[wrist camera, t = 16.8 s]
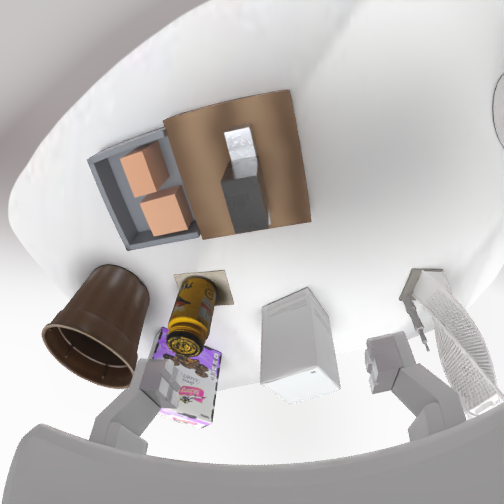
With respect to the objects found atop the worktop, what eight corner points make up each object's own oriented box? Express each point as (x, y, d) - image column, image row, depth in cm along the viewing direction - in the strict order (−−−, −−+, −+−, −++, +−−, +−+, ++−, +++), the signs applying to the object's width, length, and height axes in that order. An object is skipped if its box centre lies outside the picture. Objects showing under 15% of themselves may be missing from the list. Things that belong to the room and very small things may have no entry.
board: (287, 89, 28) (289, 90, 25) (308, 210, 37) (311, 221, 34) (171, 116, 30) (162, 120, 28) (206, 228, 39) (202, 239, 36)
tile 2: (142, 151, 27) (119, 158, 28) (156, 191, 30) (134, 197, 30) (157, 140, 31) (137, 147, 32) (169, 176, 34) (149, 181, 34)
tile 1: (181, 184, 35) (174, 194, 32) (193, 218, 37) (187, 229, 35) (147, 193, 35) (139, 203, 33) (160, 225, 38) (153, 236, 36)
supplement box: (260, 306, 47) (257, 384, 35) (307, 285, 44) (318, 365, 32) (285, 334, 52) (288, 405, 39) (329, 317, 48) (342, 390, 36)
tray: (173, 124, 31) (162, 130, 27) (204, 221, 38) (198, 237, 35) (102, 150, 32) (87, 159, 29) (137, 235, 40) (127, 250, 37)
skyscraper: (415, 261, 41) (486, 415, 18) (449, 262, 40) (522, 397, 18) (398, 298, 45) (447, 442, 23) (432, 298, 45) (485, 426, 22)
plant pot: (160, 264, 43) (125, 345, 30) (163, 327, 52) (142, 398, 39) (76, 246, 42) (27, 312, 29) (92, 309, 51) (61, 371, 38)
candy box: (223, 352, 56) (214, 424, 42) (210, 363, 59) (200, 430, 45) (162, 325, 52) (139, 398, 38) (153, 338, 55) (132, 406, 41)
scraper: (253, 122, 28) (248, 139, 20) (272, 211, 34) (274, 255, 26) (225, 128, 28) (210, 148, 21) (248, 215, 34) (243, 260, 27)
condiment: (173, 274, 44) (152, 332, 34) (224, 269, 43) (213, 331, 33) (187, 306, 48) (171, 362, 38) (234, 303, 47) (226, 362, 37)
